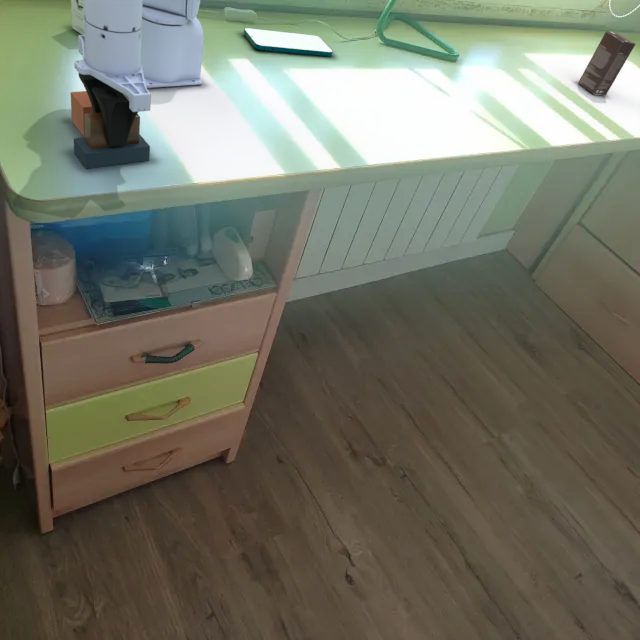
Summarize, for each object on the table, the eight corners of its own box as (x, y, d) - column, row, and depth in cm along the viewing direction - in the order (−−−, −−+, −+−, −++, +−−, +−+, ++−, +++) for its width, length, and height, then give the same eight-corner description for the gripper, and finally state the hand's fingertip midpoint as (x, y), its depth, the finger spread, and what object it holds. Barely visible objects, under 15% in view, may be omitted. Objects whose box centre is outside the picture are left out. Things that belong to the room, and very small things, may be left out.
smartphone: (317, 40, 121) (241, 32, 114) (318, 35, 120) (242, 27, 113) (333, 57, 116) (255, 50, 109) (334, 52, 116) (256, 45, 108)
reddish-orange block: (102, 118, 80) (101, 89, 77) (114, 134, 78) (115, 104, 75) (71, 121, 78) (70, 91, 75) (83, 137, 76) (83, 107, 73)
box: (606, 96, 140) (637, 43, 132) (592, 94, 138) (622, 41, 130) (590, 84, 144) (619, 32, 136) (576, 82, 142) (604, 30, 134)
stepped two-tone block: (136, 145, 77) (138, 105, 74) (149, 160, 76) (151, 119, 72) (73, 153, 73) (72, 110, 69) (85, 169, 71) (84, 126, 68)
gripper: (48, -7, 65) (55, 112, 74) (104, 53, 58) (105, 176, 67) (112, -5, 69) (111, 107, 78) (172, 51, 62) (163, 167, 71)
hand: (112, 139), depth 73 cm, fingers closed on stepped two-tone block, 2 cm apart
